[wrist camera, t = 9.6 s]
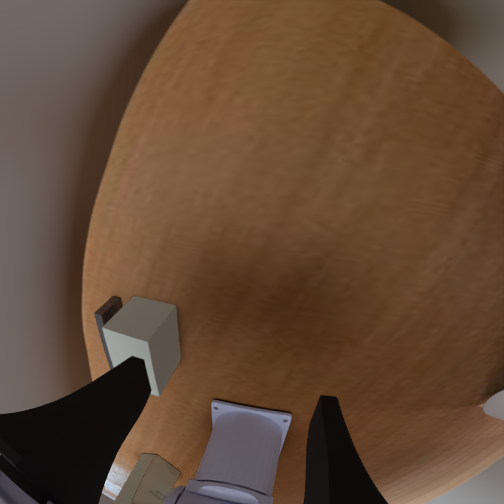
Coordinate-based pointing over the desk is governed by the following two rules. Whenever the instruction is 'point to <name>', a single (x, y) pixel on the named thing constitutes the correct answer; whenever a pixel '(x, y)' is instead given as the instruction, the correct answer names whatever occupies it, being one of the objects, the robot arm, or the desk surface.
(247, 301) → the desk surface
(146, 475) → the skincare box
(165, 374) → the carton
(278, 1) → the desk surface
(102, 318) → the price rail
